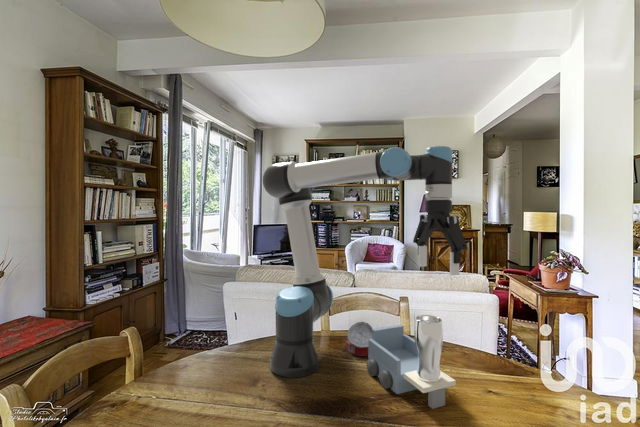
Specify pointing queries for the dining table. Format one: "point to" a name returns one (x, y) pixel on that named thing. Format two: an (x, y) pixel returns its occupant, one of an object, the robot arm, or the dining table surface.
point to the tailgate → (427, 386)
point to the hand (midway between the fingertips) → (437, 270)
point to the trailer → (396, 362)
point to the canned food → (359, 338)
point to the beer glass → (428, 347)
